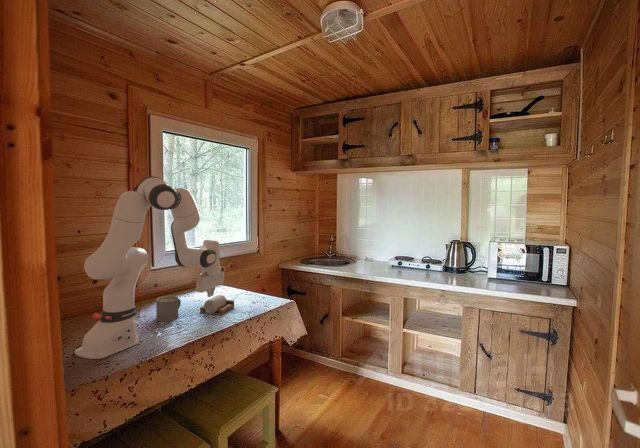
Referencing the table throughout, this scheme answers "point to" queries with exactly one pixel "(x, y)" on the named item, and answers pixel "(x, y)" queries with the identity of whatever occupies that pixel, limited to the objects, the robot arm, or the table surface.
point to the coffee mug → (167, 308)
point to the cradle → (227, 307)
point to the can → (215, 304)
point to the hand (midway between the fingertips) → (210, 296)
